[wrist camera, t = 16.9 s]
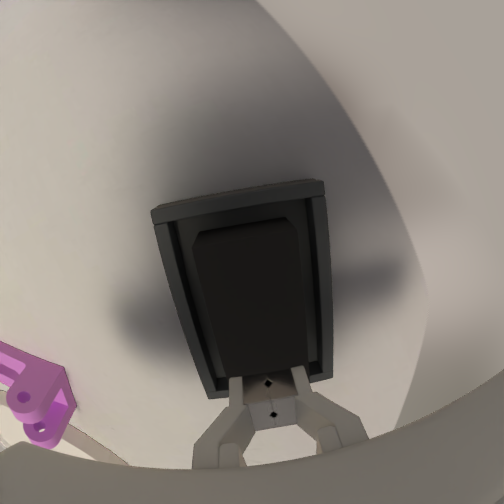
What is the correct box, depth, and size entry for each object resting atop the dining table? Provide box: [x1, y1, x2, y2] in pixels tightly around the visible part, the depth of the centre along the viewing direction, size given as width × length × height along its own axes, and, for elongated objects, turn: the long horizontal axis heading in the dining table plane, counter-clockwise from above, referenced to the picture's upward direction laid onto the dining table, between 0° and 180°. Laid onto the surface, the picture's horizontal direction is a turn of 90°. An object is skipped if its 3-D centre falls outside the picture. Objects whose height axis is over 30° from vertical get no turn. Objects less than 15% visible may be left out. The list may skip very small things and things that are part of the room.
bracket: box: [0, 341, 77, 449], centre depth 16 cm, size 13×6×7 cm, turn 80°
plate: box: [0, 390, 129, 466], centre depth 23 cm, size 28×28×2 cm
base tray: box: [150, 179, 333, 399], centre depth 17 cm, size 14×9×2 cm
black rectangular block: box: [192, 217, 310, 384], centre depth 16 cm, size 10×5×3 cm, turn 9°
